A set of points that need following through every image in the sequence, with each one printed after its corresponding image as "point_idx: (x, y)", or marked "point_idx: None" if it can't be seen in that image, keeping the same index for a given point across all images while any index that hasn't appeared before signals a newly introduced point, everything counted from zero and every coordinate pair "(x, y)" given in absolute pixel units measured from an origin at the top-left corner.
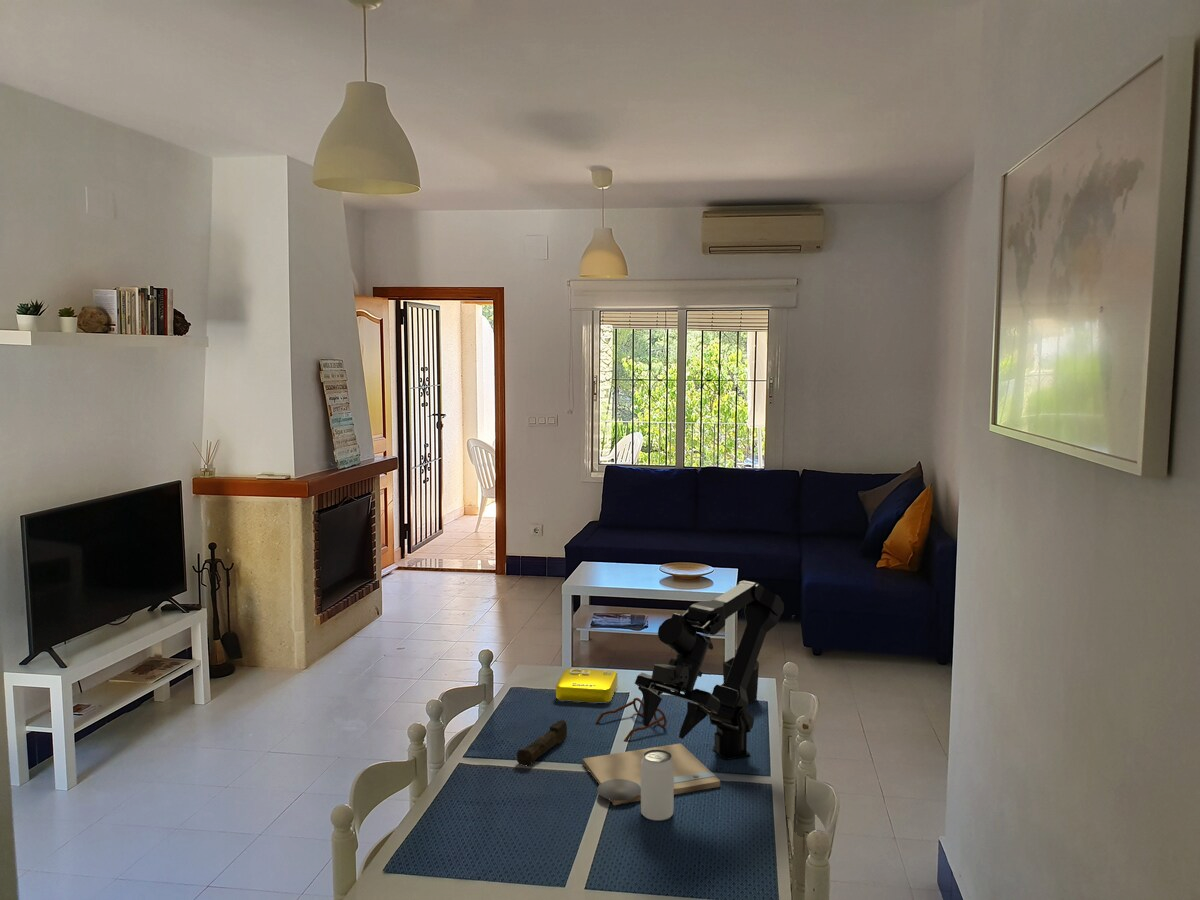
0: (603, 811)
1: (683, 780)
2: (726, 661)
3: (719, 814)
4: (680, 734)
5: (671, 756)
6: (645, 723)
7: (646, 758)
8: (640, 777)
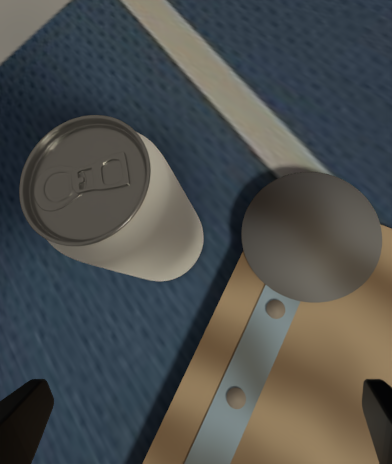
0: (268, 152)
1: (205, 432)
2: None
3: (44, 351)
4: (21, 389)
5: (25, 217)
6: (370, 390)
7: (116, 135)
8: (326, 347)
